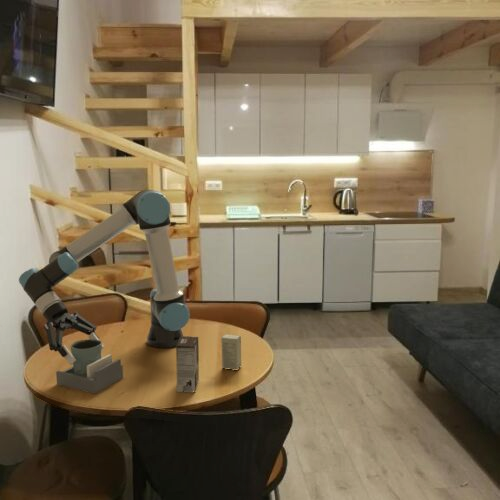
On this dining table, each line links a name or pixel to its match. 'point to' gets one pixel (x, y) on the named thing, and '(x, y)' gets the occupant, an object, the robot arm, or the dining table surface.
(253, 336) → the dining table surface
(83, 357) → the grey-green cup
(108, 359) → the pusher
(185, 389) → the coffee box
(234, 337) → the skincare box
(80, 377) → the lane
